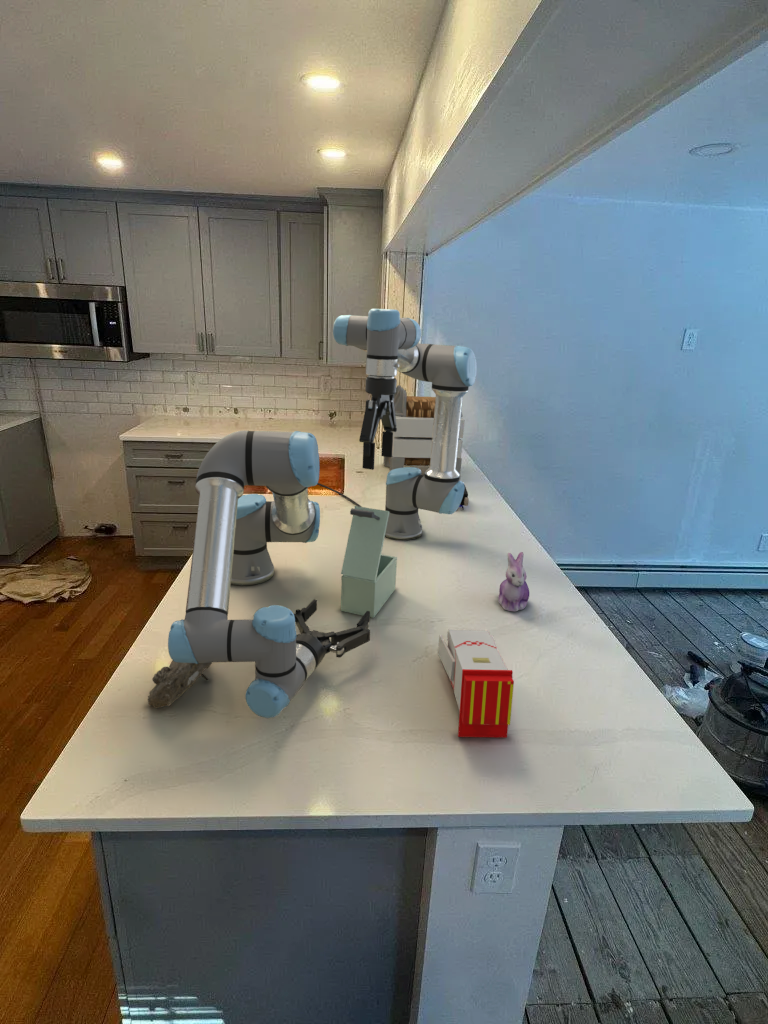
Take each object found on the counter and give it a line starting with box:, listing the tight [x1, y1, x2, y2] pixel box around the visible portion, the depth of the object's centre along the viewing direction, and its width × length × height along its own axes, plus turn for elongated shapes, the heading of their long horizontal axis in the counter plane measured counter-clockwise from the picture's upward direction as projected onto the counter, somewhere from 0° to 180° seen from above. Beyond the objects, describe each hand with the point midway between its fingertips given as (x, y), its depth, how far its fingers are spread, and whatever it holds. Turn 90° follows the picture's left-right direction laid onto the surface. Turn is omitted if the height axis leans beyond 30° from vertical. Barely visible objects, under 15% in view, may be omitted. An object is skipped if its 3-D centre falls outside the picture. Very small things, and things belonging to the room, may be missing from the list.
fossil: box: [147, 660, 213, 709], centre depth 117 cm, size 22×10×15 cm
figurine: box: [497, 551, 530, 612], centre depth 152 cm, size 9×10×15 cm
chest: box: [340, 553, 398, 619], centre depth 152 cm, size 17×9×10 cm, turn 160°
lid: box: [340, 505, 389, 581], centre depth 141 cm, size 18×9×8 cm
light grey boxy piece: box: [383, 384, 465, 481], centre depth 268 cm, size 34×33×41 cm
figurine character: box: [458, 484, 470, 511], centre depth 230 cm, size 7×8×15 cm
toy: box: [437, 628, 515, 738], centre depth 117 cm, size 12×13×30 cm
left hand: (341, 610), depth 134 cm, fingers open, 13 cm apart
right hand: (377, 462), depth 144 cm, fingers open, 13 cm apart
